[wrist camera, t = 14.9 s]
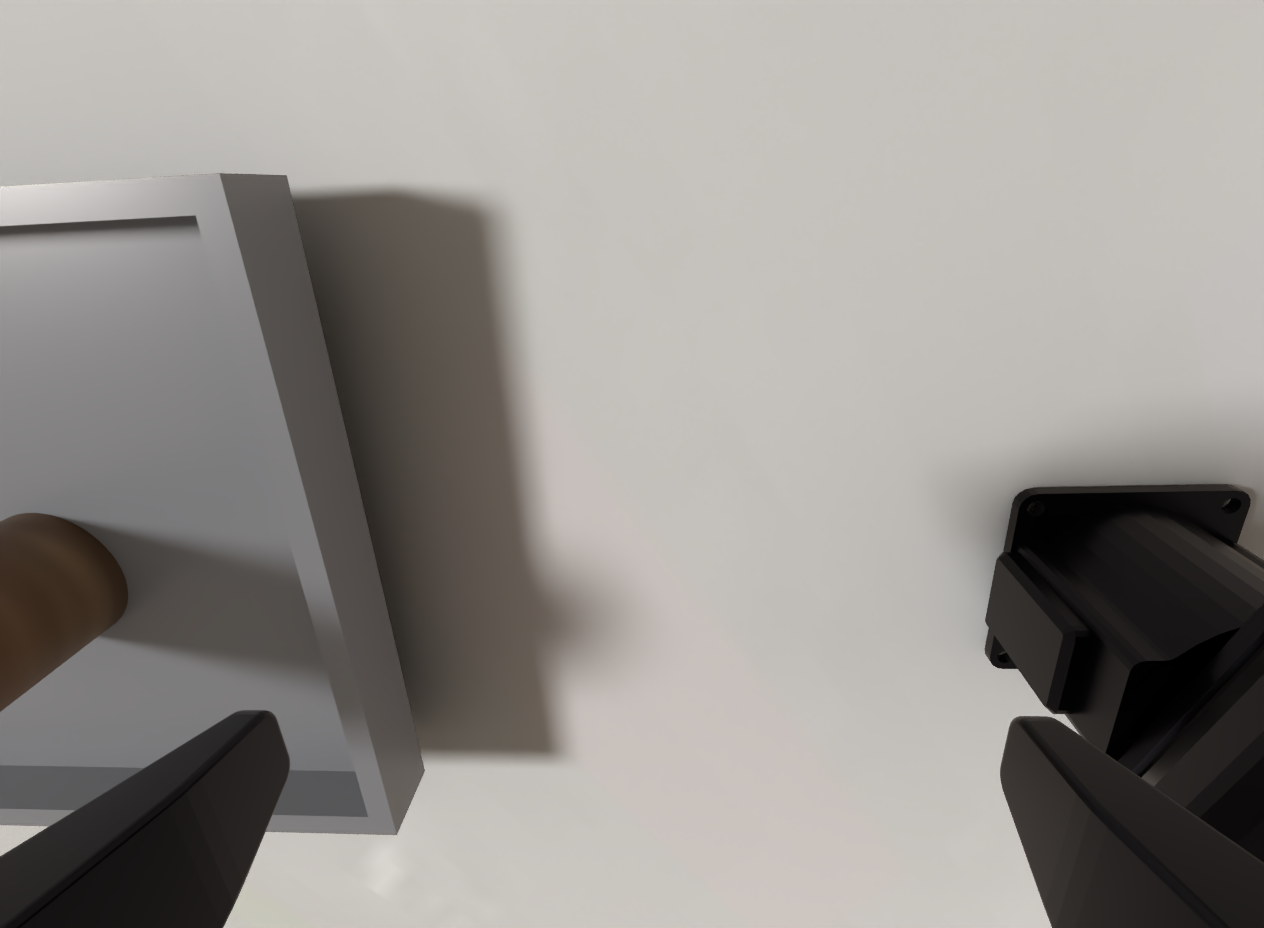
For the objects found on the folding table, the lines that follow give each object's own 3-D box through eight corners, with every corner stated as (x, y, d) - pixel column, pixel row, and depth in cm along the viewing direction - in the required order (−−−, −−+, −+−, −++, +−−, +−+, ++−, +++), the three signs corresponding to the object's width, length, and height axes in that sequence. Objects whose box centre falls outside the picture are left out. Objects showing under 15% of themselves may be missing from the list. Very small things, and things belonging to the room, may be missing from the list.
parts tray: (322, 176, 18) (219, 173, 14) (440, 733, 26) (396, 835, 22) (-318, 214, 20) (-576, 221, 16) (-27, 727, 27) (-149, 821, 23)
